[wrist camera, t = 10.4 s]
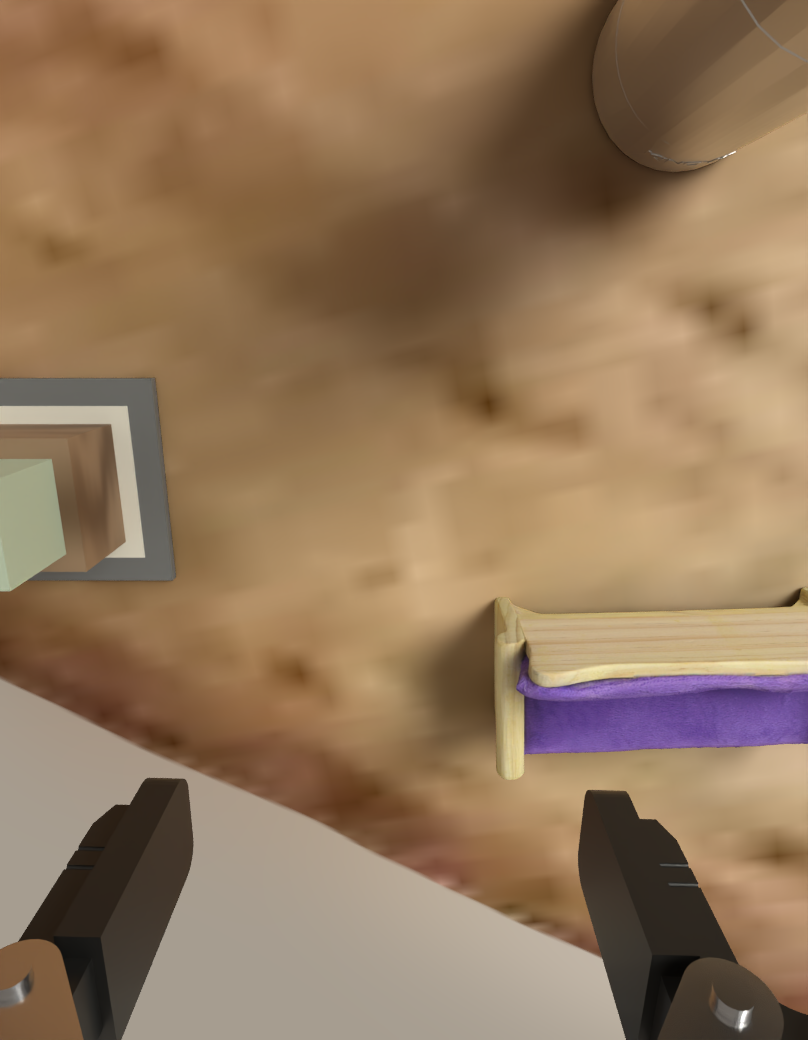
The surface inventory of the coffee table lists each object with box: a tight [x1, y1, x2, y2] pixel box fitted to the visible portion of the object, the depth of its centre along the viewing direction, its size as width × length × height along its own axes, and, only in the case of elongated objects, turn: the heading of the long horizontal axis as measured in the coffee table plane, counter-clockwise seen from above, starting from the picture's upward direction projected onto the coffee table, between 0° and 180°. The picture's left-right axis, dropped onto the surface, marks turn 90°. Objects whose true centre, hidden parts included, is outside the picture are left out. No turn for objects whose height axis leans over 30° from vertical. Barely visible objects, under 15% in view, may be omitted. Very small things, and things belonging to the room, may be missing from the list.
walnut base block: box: [0, 424, 126, 572], centre depth 36 cm, size 7×7×5 cm
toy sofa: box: [494, 587, 808, 780], centre depth 37 cm, size 21×9×10 cm, turn 92°
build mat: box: [0, 378, 176, 580], centre depth 39 cm, size 12×12×1 cm
